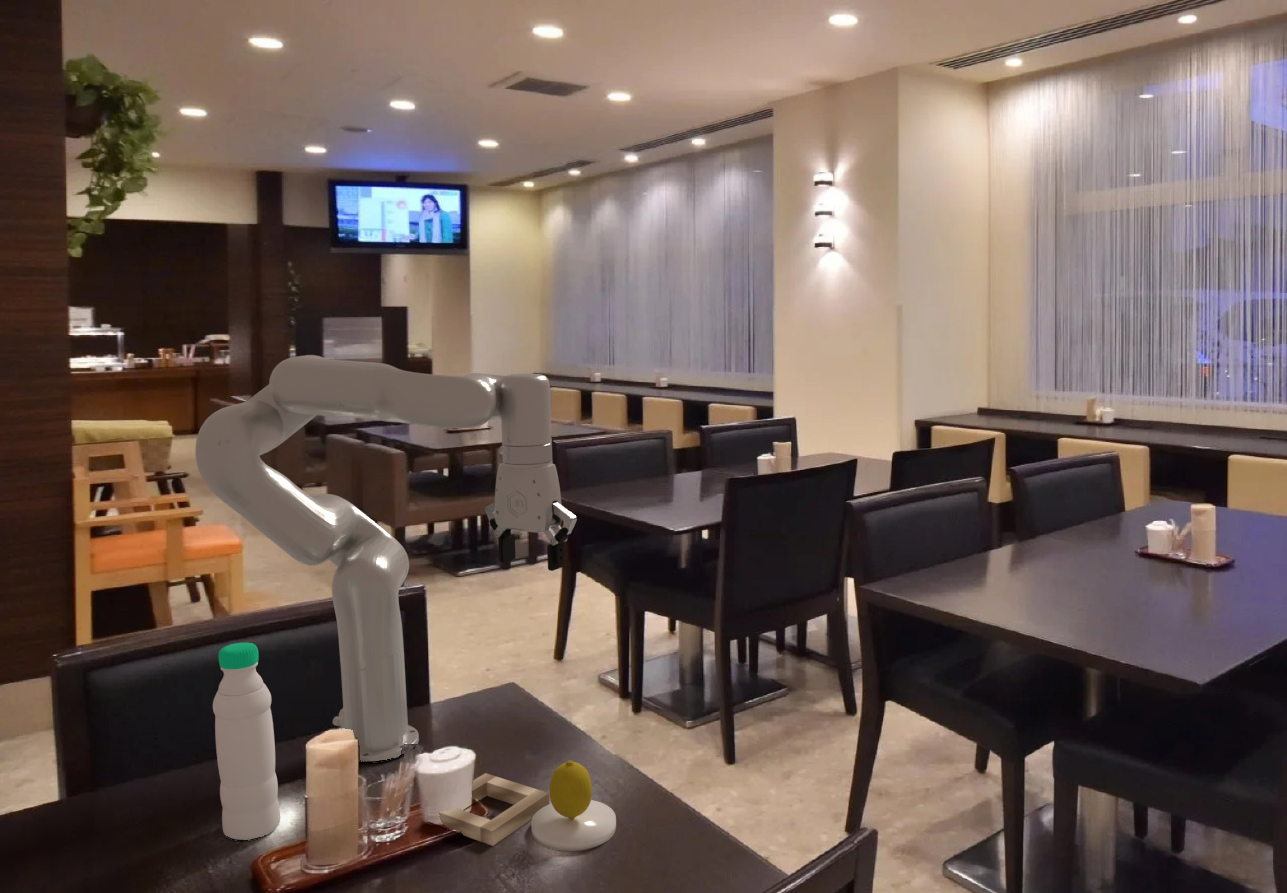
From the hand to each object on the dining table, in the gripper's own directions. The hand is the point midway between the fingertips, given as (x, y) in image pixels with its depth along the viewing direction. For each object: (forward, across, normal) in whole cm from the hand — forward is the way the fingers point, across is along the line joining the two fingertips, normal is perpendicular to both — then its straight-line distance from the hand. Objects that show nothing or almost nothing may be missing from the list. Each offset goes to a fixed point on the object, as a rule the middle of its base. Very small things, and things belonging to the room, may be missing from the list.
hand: (531, 564), depth 151 cm
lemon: (+27, +21, -19) cm, 39 cm away
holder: (+28, +10, -22) cm, 37 cm away
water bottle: (+28, -15, -41) cm, 52 cm away
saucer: (+28, +22, -19) cm, 40 cm away
